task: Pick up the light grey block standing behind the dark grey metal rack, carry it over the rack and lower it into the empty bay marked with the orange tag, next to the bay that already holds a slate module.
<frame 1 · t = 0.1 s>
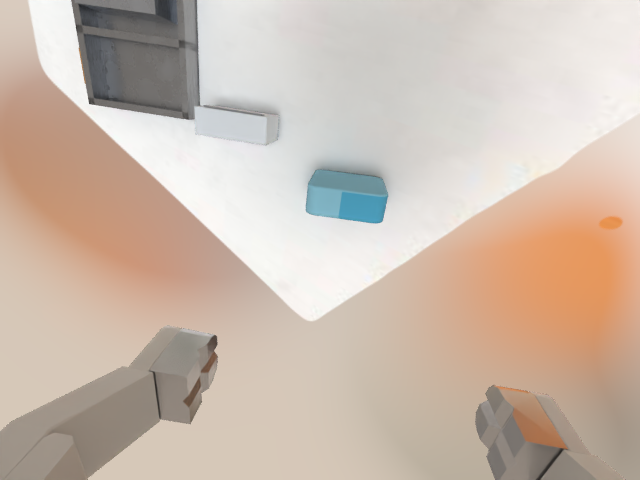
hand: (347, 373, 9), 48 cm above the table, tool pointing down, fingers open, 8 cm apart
rack: (147, 41, 49), on the table
light grey block: (247, 122, 52), on the table
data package: (347, 184, 55), on the table
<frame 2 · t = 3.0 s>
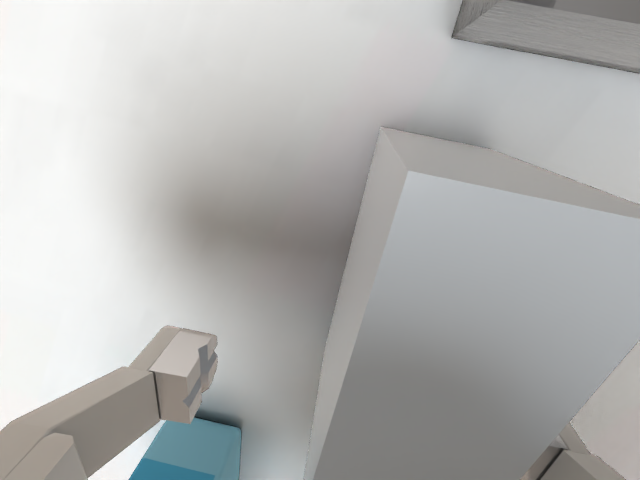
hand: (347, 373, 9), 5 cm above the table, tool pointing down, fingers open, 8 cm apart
light grey block: (392, 264, 13), on the table
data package: (211, 459, 22), on the table
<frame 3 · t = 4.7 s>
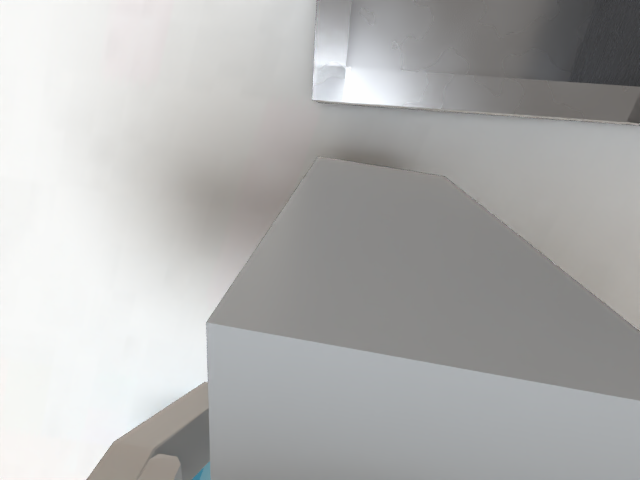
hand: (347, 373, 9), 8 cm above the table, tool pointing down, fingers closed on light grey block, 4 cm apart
light grey block: (349, 306, 12), point 5 cm above the table, touching gripper
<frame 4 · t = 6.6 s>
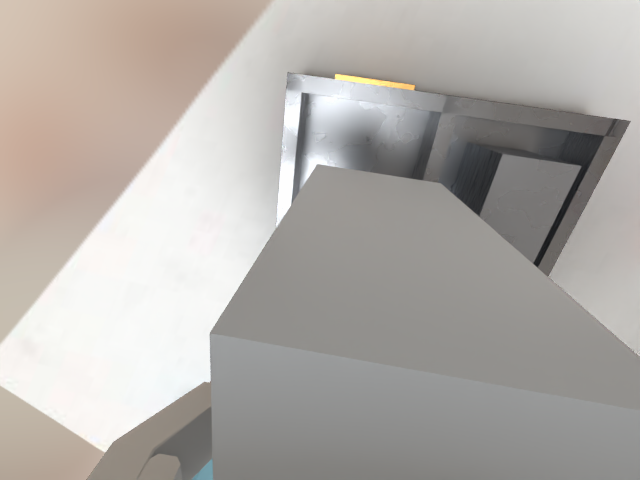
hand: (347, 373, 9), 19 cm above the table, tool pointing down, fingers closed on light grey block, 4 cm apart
rack: (409, 206, 26), on the table
light grey block: (348, 311, 12), point 16 cm above the table, touching gripper
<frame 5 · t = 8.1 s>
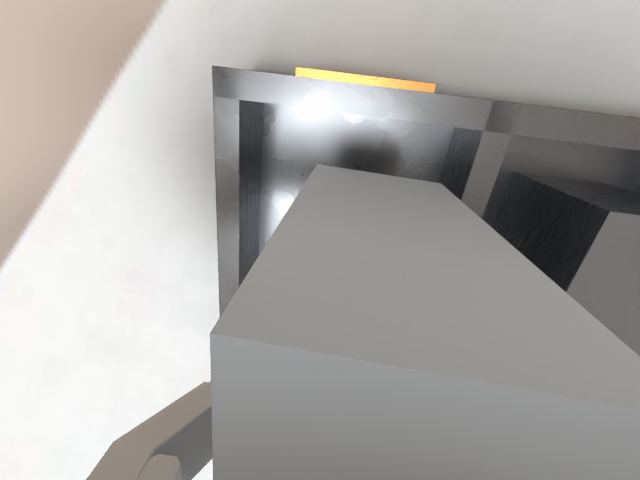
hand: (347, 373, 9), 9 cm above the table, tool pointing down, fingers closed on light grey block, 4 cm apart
rack: (421, 262, 18), on the table
light grey block: (348, 311, 12), point 6 cm above the table, touching gripper
when the fingers open (6 cm above the table, at t = 9.3 s): light grey block drops 2 cm, resting on rack.
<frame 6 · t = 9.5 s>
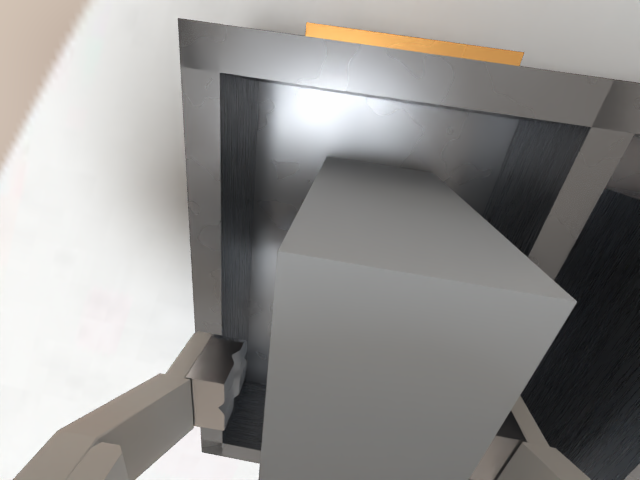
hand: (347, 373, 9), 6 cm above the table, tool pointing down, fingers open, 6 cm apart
rack: (456, 294, 14), on the table
light grey block: (353, 286, 14), point 1 cm above the table, touching rack
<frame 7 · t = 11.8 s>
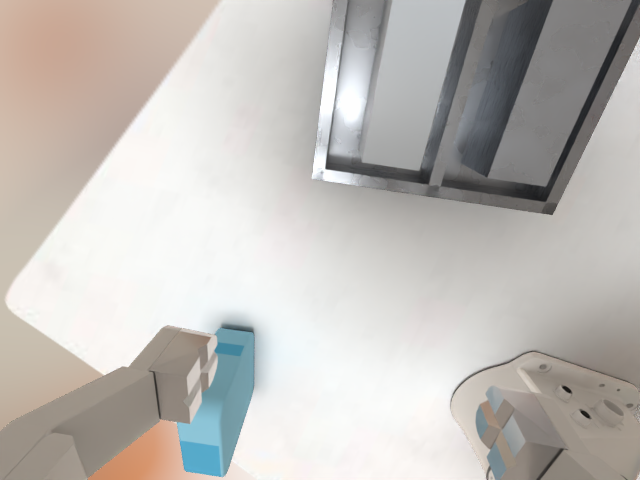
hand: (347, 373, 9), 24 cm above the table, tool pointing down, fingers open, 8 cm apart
rack: (447, 90, 26), on the table
light grey block: (393, 84, 26), point 1 cm above the table, touching rack
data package: (238, 357, 42), on the table
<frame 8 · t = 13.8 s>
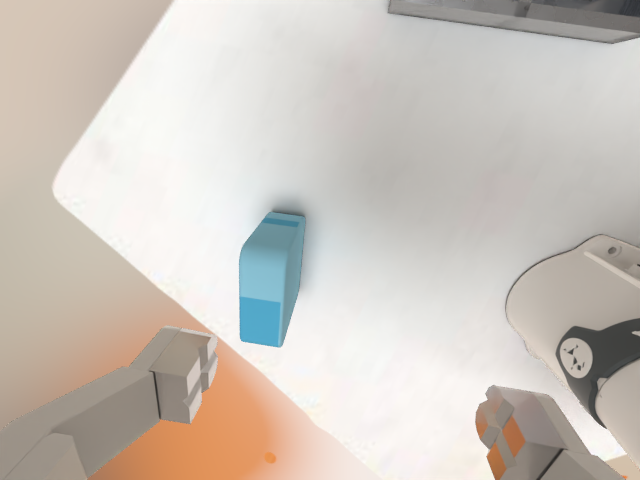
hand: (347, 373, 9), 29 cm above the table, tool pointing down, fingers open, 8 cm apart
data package: (286, 251, 41), on the table
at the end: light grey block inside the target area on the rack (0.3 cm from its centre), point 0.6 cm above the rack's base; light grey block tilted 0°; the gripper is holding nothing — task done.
